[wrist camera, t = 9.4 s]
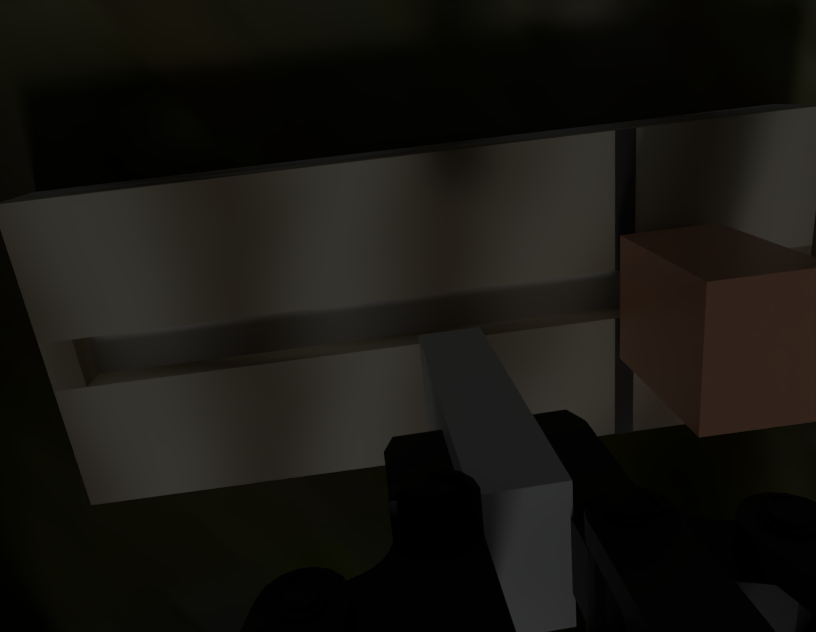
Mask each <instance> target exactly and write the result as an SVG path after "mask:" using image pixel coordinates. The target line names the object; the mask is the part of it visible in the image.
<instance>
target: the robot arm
mask: <svg viewBox="0 0 816 632" xmlns="http://www.w3.org/2000/svg"><path fill="white" fill-rule="evenodd" d="M418 337H419V346H420V355H421V364H422V373H423V382H424V391H425V400H426V409H427V418H428V427H429V432H422V433H415V434H408V435H401V436H395V437H392V439H391V440H390V442H389V444H388V445H387V447H386V449H385V451H384V459H385V467H386V475H387V483H388V492H389V499H388V506H389V513H390V520H391V527H392V534H393V544H392V546H391V548H390V551H389V552H388V554H387V555H386V556H385V557H384V559H383V560H382V561H381V562H380V563H378V564H377V565H376V566H375V567H373V568H372V569H370V570H368V571H366V572H365V573H363V574H361V575H359V576H356V577H354V578H352V579H349V580H347V581H346V580H345V578H344V577H343V576H341V575H340V574H338V573H336V572H335V571H333V570H331V569H326V568H320V567H309V568H301V569H296V570H294V571H291V572H289V573H286V574H284V575H281V576H279V577H278V578H276V579H275V580H274V581H272V582H271V583H270V584H268V585H267V586H266V587H265V588H264V589H263V590H262V592H261V593H260V594H259V596H258V597H257V599H256V600H255V602H254V604H253V606H252V608H251V610H250V612H249V614H248V616H247V619H246V621H245V623H244V625H243V627H242V629H241V631H240V632H548V631H553V630H559V629H565V628H571V627H576V602H577V604H578V606H579V608H580V610H581V612H582V614H583V617H584V619H585V621H586V632H816V502H814V501H811V500H809V499H807V498H803V497H799V496H795V495H791V494H787V493H771V492H766V493H761V494H755V495H751V496H749V497H747V498H746V499H744V500H743V501H741V502H740V504H739V506H738V509H737V511H736V521H733V520H717V519H702V518H693V517H686V516H682V515H681V514H680V513H679V512H678V510H677V509H676V508H675V507H674V505H673V504H671V503H670V502H669V501H668V500H667V499H665V498H664V497H663V496H662V495H659V494H657V493H655V492H653V491H650V490H648V489H645V488H639V487H636V486H635V485H634V484H633V482H632V481H631V480H630V478H629V477H628V476H627V474H626V473H625V472H624V470H623V469H622V468H621V466H620V465H619V464H618V462H617V461H616V460H615V458H614V457H613V456H612V455H611V453H610V452H609V451H608V449H606V448H605V445H604V444H603V443H602V441H601V440H600V439H599V437H597V436H596V433H595V432H594V431H593V429H592V428H591V427H590V425H589V424H588V423H587V422H586V420H584V419H582V418H581V417H579V416H577V415H575V414H573V413H572V412H570V411H568V410H566V409H565V410H558V411H552V412H545V413H538V414H532V413H531V411H530V409H529V408H528V406H527V405H526V403H525V401H524V400H523V398H522V396H521V395H520V393H519V391H518V390H517V388H516V386H515V385H514V383H513V381H512V380H511V378H510V376H509V375H508V373H507V371H506V370H505V368H504V366H503V365H502V363H501V361H500V360H499V358H498V357H497V355H496V353H495V352H494V350H493V348H492V347H491V345H490V343H489V342H488V340H487V338H486V337H485V335H484V333H483V332H482V330H481V328H480V327H474V328H467V329H460V330H452V331H445V332H438V333H431V334H424V335H418Z"/></svg>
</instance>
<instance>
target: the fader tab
mask: <svg viewBox="0 0 816 632" xmlns="http://www.w3.org/2000/svg"><path fill="white" fill-rule="evenodd" d="M620 359H621V360H622V361H623V362H624V363H625V364H626V365H627V366H628V367H629V368H630V369H631V370H632V371H633V372H634V373H635V374H636V375H637V376H638V377H639V378H640V379H641V380H642V381H643V382H644V383H645V384H646V385H647V386H648V387H649V388H650V389H651V390H652V391H653V392H654V393H655V394H656V395H657V396H658V397H659V398H660V399H661V400H662V401H663V402H664V403H665V404H666V405H667V406H668V407H669V408H670V409H671V410H672V411H673V412H674V413H675V414H676V415H677V416H678V417H679V418H680V419H681V420H682V421H683V422H684V423H685V424H686V425H687V426H688V427H689V428H690V429H691V430H692V431H693V432H694V433H695V434H696V435H697V436H698V437H706V436H713V435H721V434H728V433H735V432H742V431H750V430H757V429H764V428H772V427H779V426H786V425H793V424H801V423H808V422H815V421H816V258H815V257H812V256H809V255H807V254H804V253H801V252H798V251H795V250H793V249H790V248H787V247H784V246H781V245H779V244H776V243H773V242H770V241H767V240H765V239H762V238H759V237H756V236H754V235H751V234H748V233H745V232H742V231H740V230H737V229H734V228H731V227H728V226H726V225H723V224H720V223H713V224H705V225H697V226H689V227H681V228H673V229H665V230H658V231H650V232H642V233H634V234H626V235H620Z"/></svg>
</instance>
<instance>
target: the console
mask: <svg viewBox="0 0 816 632" xmlns="http://www.w3.org/2000/svg"><path fill="white" fill-rule="evenodd" d="M815 211H816V105H803V104H768V105H760V106H751V107H743V108H734V109H726V110H718V111H709V112H701V113H692V114H684V115H676V116H667V117H659V118H651V119H642V120H634V121H625V122H617V123H609V124H600V125H592V126H583V127H575V128H567V129H558V130H550V131H542V132H533V133H525V134H516V135H508V136H500V137H491V138H483V139H474V140H466V141H458V142H449V143H441V144H432V145H424V146H416V147H407V148H399V149H391V150H382V151H374V152H365V153H357V154H349V155H340V156H332V157H323V158H315V159H307V160H298V161H290V162H282V163H273V164H265V165H256V166H248V167H240V168H231V169H223V170H214V171H206V172H198V173H189V174H181V175H172V176H164V177H156V178H147V179H139V180H131V181H122V182H114V183H105V184H97V185H89V186H80V187H72V188H63V189H55V190H47V191H38V192H33V193H30V194H27V195H23V196H20V197H17V198H13V199H10V200H7V201H4V202H0V230H1V233H2V236H3V239H4V242H5V245H6V248H7V251H8V254H9V257H10V260H11V263H12V266H13V269H14V272H15V275H16V278H17V281H18V284H19V287H20V290H21V293H22V296H23V299H24V302H25V305H26V308H27V311H28V315H29V318H30V321H31V324H32V327H33V330H34V333H35V336H36V339H37V342H38V345H39V348H40V351H41V354H42V357H43V360H44V363H45V366H46V369H47V372H48V375H49V378H50V381H51V384H52V387H53V390H54V393H55V396H56V399H57V403H58V406H59V409H60V412H61V415H62V418H63V421H64V424H65V427H66V430H67V433H68V436H69V439H70V442H71V445H72V448H73V451H74V454H75V457H76V460H77V463H78V466H79V469H80V472H81V475H82V478H83V481H84V484H85V487H86V491H87V494H88V497H89V500H90V503H91V505H95V504H103V503H110V502H117V501H125V500H132V499H139V498H147V497H154V496H161V495H169V494H176V493H183V492H191V491H198V490H205V489H213V488H220V487H227V486H235V485H242V484H249V483H257V482H264V481H271V480H279V479H286V478H293V477H301V476H308V475H315V474H323V473H330V472H337V471H345V470H352V469H359V468H367V467H374V466H381V465H385V459H384V451H385V449H386V447H387V445H388V444H389V442H390V440H391V439H392V437H395V436H401V435H408V434H415V433H422V432H429V427H428V418H427V409H426V400H425V391H424V382H423V373H422V364H421V355H420V346H419V337H418V335H424V334H431V333H438V332H445V331H452V330H460V329H467V328H474V327H480V328H481V330H482V332H483V333H484V335H485V337H486V338H487V340H488V342H489V343H490V345H491V347H492V348H493V350H494V352H495V353H496V355H497V357H498V358H499V360H500V361H501V363H502V365H503V366H504V368H505V370H506V371H507V373H508V375H509V376H510V378H511V380H512V381H513V383H514V385H515V386H516V388H517V390H518V391H519V393H520V395H521V396H522V398H523V400H524V401H525V403H526V405H527V406H528V408H529V409H530V411H531V413H532V414H538V413H545V412H552V411H558V410H565V409H566V410H568V411H570V412H572V413H573V414H575V415H577V416H579V417H581V418H582V419H584V420H586V422H587V423H588V424H589V425H590V427H591V428H592V429H593V431H594V432H595V433H596V436H601V435H608V434H623V433H630V432H633V431H638V430H645V429H652V428H660V427H667V426H674V425H682V424H685V423H684V422H683V421H682V420H681V419H680V418H679V417H678V416H677V415H676V414H675V413H674V412H673V411H672V410H671V409H670V408H669V407H668V406H667V405H666V404H665V403H664V402H663V401H662V400H661V399H660V398H659V397H658V396H657V395H656V394H655V393H654V392H653V391H652V390H651V389H650V388H649V387H648V386H647V385H646V384H645V383H644V382H643V381H642V380H641V379H640V378H639V377H638V376H637V375H636V374H635V373H634V372H633V371H632V370H631V369H630V368H629V367H628V366H627V365H626V364H625V363H624V362H623V361H622V360H621V359H620V235H626V234H634V233H642V232H650V231H658V230H665V229H673V228H681V227H689V226H697V225H705V224H713V223H720V224H723V225H726V226H728V227H731V228H734V229H737V230H740V231H742V232H745V233H748V234H751V235H754V236H756V237H759V238H762V239H765V240H767V241H770V242H773V243H776V244H779V245H781V246H784V247H787V248H790V249H793V250H795V251H798V252H801V253H804V254H807V255H809V256H811V248H812V239H813V230H814V220H815Z"/></svg>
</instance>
